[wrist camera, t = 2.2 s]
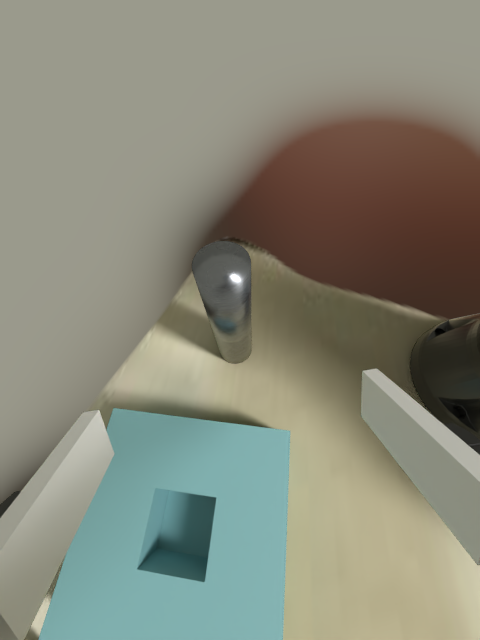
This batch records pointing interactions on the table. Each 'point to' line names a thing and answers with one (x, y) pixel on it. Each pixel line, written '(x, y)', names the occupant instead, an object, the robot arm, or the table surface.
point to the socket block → (179, 536)
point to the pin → (226, 296)
